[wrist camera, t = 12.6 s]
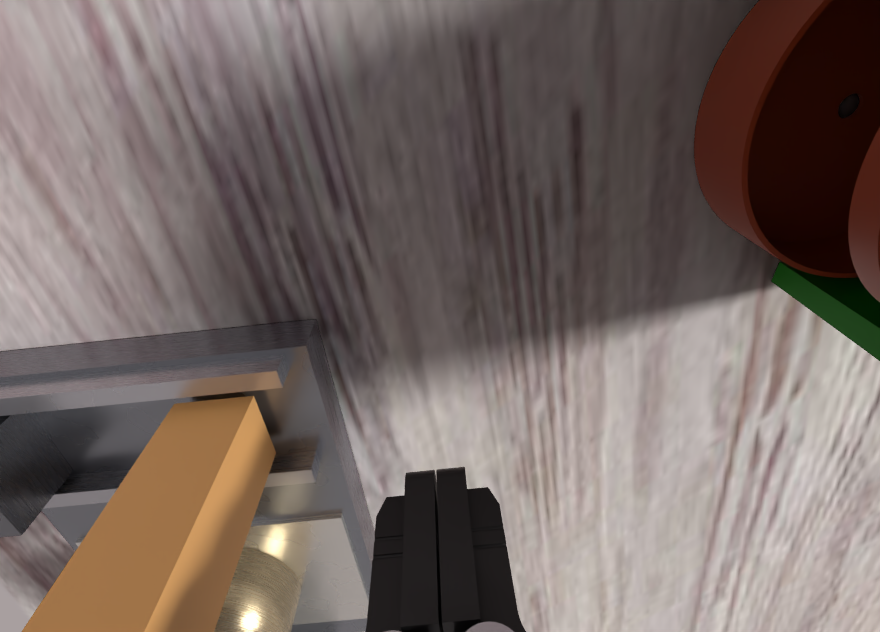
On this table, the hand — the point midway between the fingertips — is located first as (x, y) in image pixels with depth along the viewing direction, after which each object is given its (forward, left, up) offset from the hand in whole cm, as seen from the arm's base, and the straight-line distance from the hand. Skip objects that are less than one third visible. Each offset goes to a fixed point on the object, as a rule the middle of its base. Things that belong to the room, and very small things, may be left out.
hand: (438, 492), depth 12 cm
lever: (0, -6, -3) cm, 7 cm away
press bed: (+5, -9, -5) cm, 12 cm away
